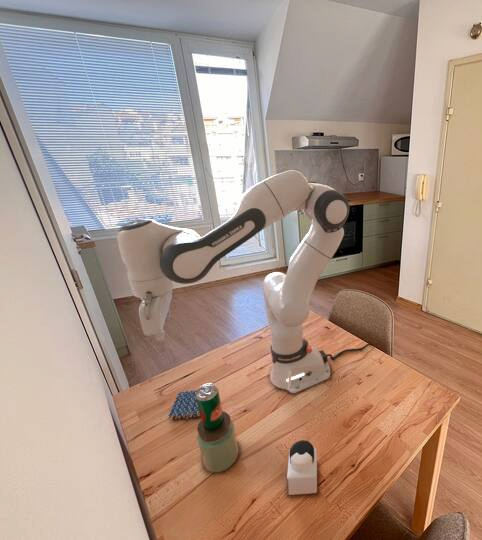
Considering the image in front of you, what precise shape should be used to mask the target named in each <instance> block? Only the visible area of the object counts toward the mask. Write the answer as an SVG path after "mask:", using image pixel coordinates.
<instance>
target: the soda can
mask: <svg viewBox="0 0 482 540" xmlns="http://www.w3.org/2000/svg"><path fill="white" fill-rule="evenodd" d="M218 388H219V387H217V386H216V385H215V384H214V383H211V382H209V383H205V384H201V386H200V387H199V388H198V389H197V394H196V400H197V404H198V408H199V412H200V416H199V417H200V421H201V420H202V424H203V428H204V429H205V430H207V431H214V430H216V429H218V428H219V427H220V426H221V425H222V424H223V422H224V416H223V411H224V410H223V407H222V403H221V398H220V393H219V392H220V391H219V389H218Z"/></svg>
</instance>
